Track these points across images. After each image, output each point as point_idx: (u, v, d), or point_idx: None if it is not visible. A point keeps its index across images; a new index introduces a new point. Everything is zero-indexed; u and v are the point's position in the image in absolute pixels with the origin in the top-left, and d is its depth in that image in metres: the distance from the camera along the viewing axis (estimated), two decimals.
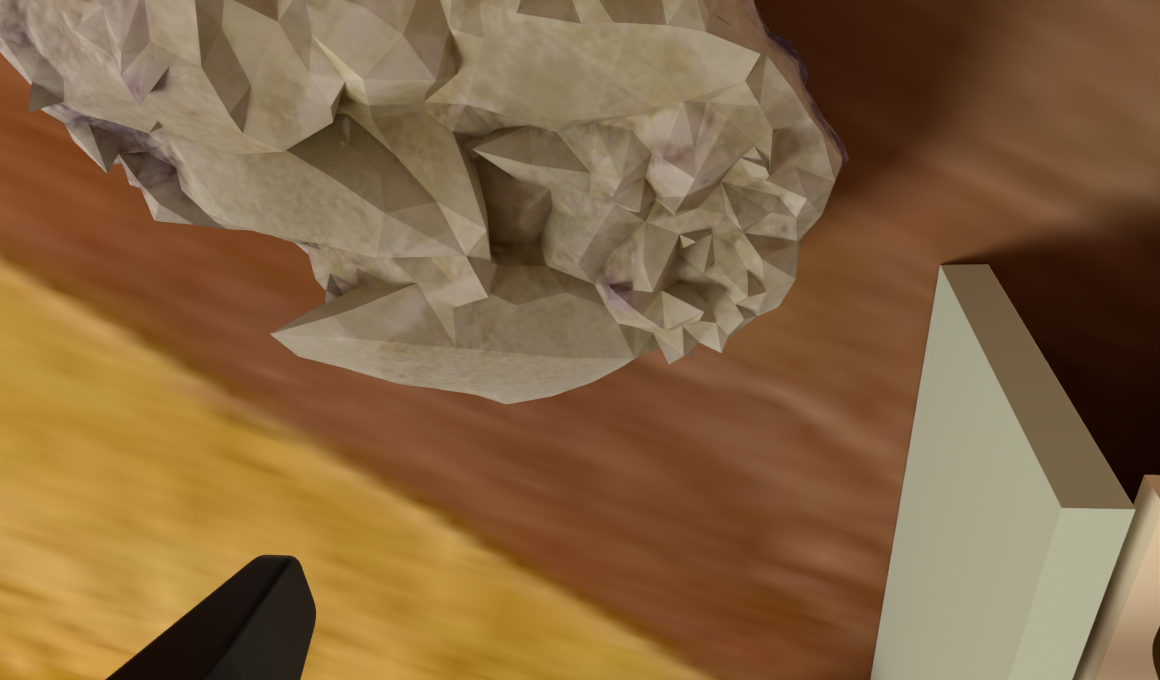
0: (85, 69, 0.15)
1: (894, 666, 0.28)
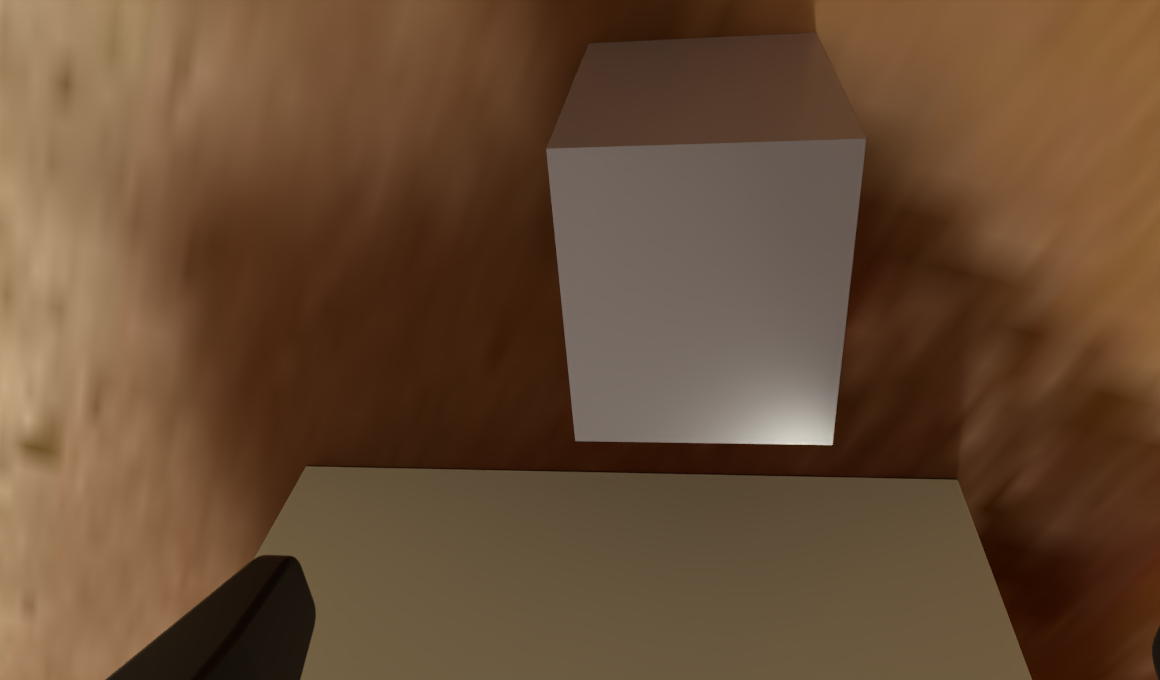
0: None
1: None
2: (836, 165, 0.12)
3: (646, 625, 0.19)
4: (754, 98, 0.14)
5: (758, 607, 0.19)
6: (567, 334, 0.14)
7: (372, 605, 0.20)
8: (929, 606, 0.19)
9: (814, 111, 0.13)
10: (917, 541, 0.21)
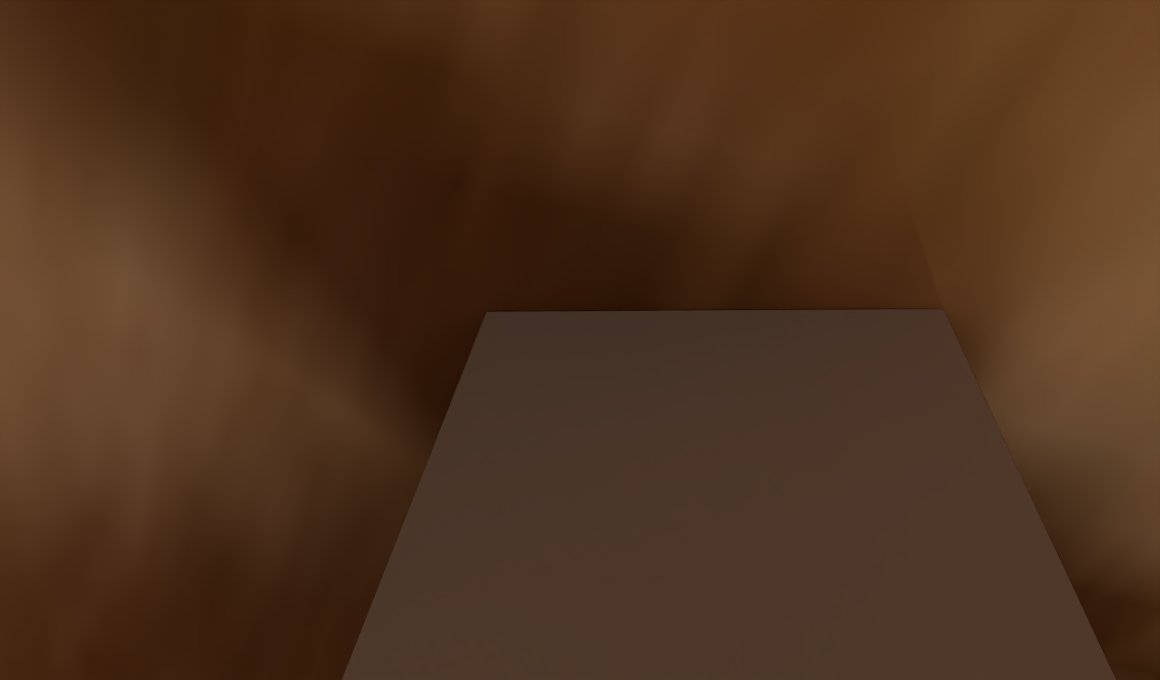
0: None
1: None
2: None
3: None
4: (856, 660, 0.05)
5: None
6: None
7: None
8: None
9: None
10: None
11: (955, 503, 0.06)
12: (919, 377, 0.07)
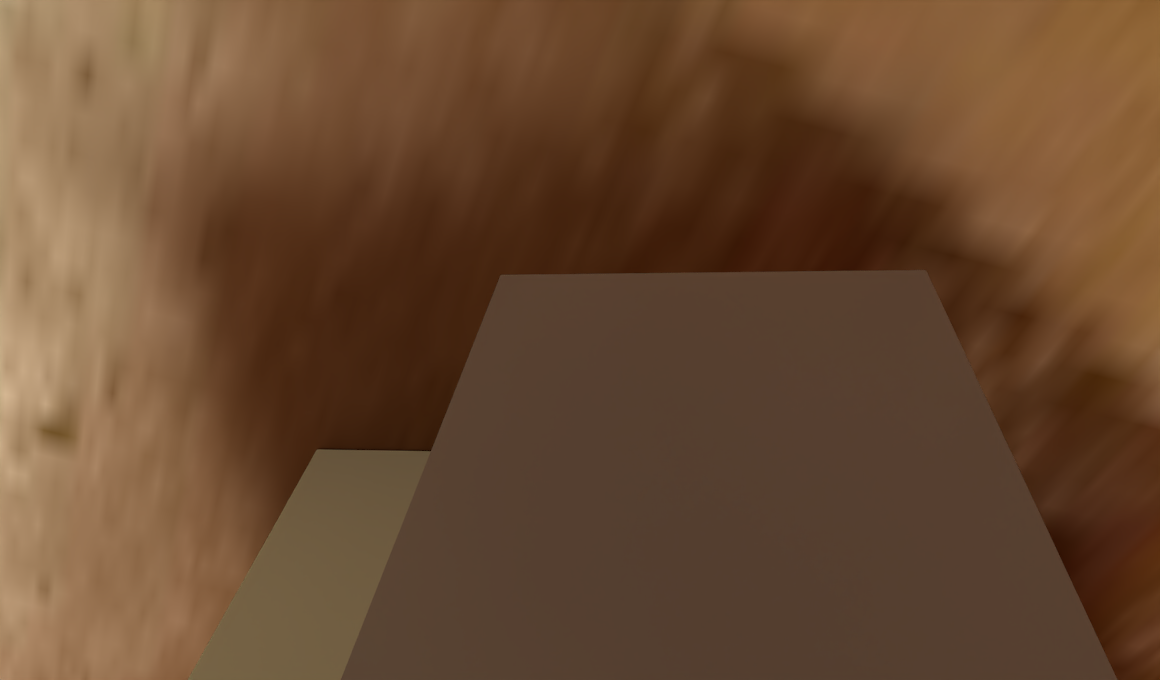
0: None
1: None
2: None
3: None
4: (839, 560, 0.06)
5: None
6: None
7: None
8: None
9: (1005, 660, 0.05)
10: None
11: (931, 433, 0.07)
12: (902, 328, 0.08)
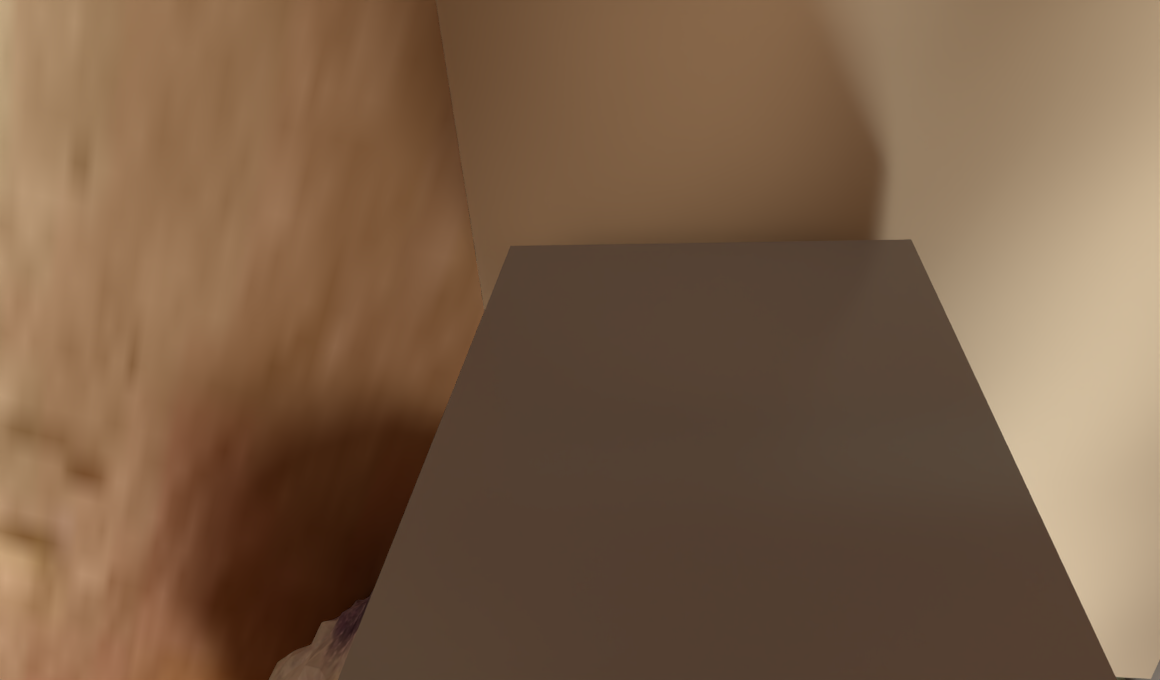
0: None
1: None
2: None
3: None
4: (824, 487, 0.06)
5: None
6: None
7: None
8: None
9: (974, 568, 0.06)
10: None
11: (912, 381, 0.07)
12: (887, 291, 0.09)
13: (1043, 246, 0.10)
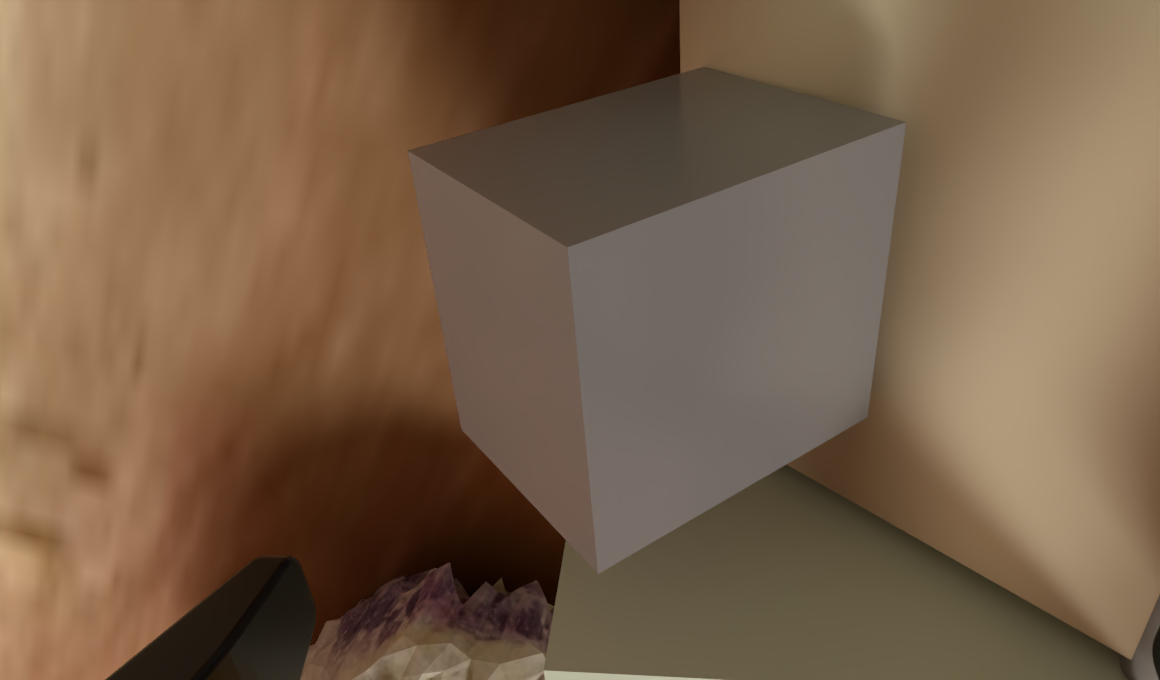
0: None
1: None
2: (553, 265, 0.10)
3: None
4: (630, 169, 0.12)
5: None
6: (443, 328, 0.15)
7: None
8: None
9: (624, 203, 0.11)
10: None
11: (746, 160, 0.12)
12: (828, 134, 0.12)
13: (1034, 163, 0.12)
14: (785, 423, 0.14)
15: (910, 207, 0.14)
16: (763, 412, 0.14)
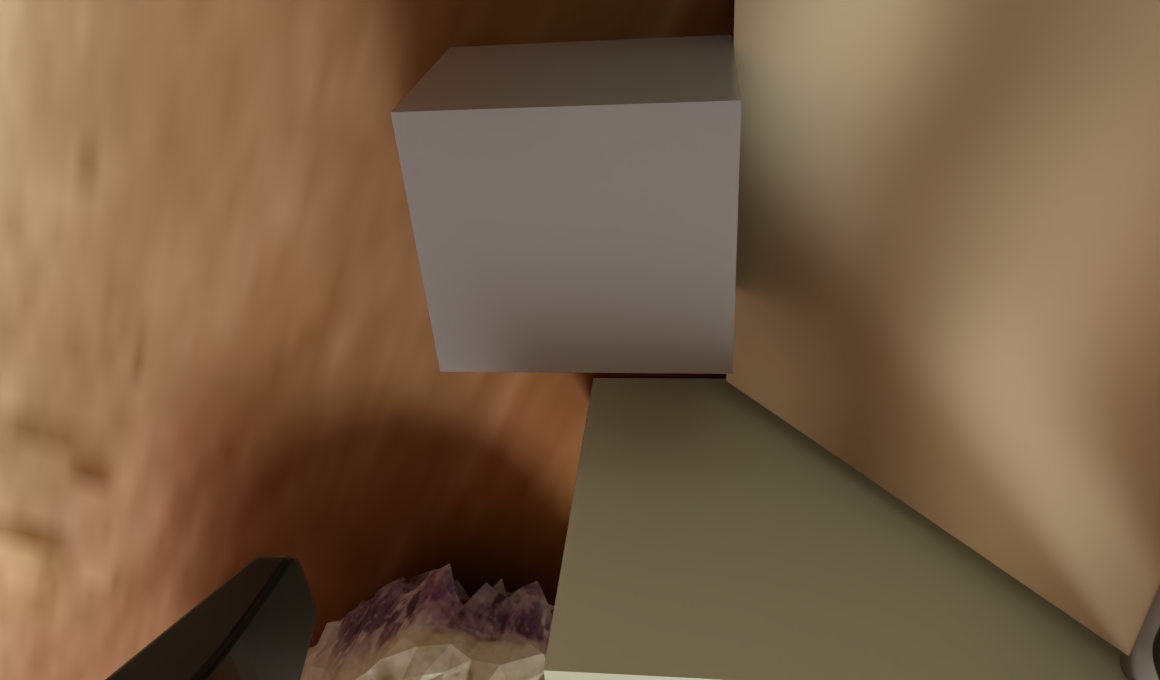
0: None
1: None
2: None
3: None
4: (516, 83, 0.16)
5: None
6: None
7: None
8: None
9: (467, 99, 0.15)
10: None
11: (583, 96, 0.15)
12: (672, 94, 0.15)
13: (1049, 153, 0.12)
14: (623, 333, 0.17)
15: (935, 192, 0.14)
16: (595, 313, 0.17)
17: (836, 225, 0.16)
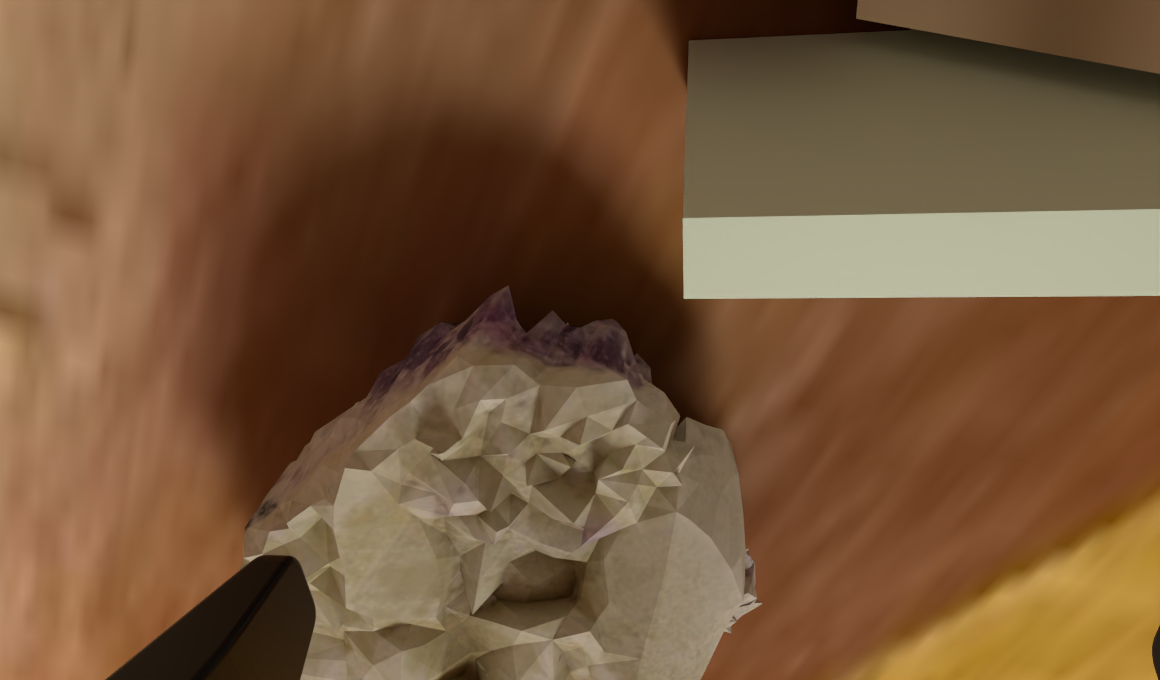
0: None
1: None
2: None
3: None
4: None
5: None
6: None
7: None
8: None
9: None
10: None
11: None
12: None
13: None
14: None
15: None
16: None
17: None
